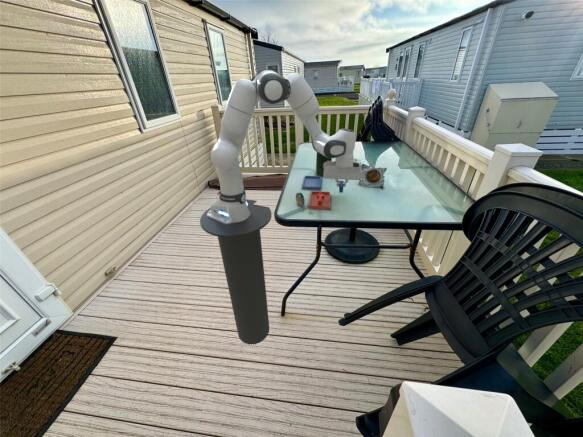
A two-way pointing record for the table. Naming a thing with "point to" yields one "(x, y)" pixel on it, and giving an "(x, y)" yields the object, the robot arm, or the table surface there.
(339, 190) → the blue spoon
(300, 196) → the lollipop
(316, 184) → the blue tray
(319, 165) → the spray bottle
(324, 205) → the red tray
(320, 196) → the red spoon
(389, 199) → the table surface
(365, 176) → the meal
